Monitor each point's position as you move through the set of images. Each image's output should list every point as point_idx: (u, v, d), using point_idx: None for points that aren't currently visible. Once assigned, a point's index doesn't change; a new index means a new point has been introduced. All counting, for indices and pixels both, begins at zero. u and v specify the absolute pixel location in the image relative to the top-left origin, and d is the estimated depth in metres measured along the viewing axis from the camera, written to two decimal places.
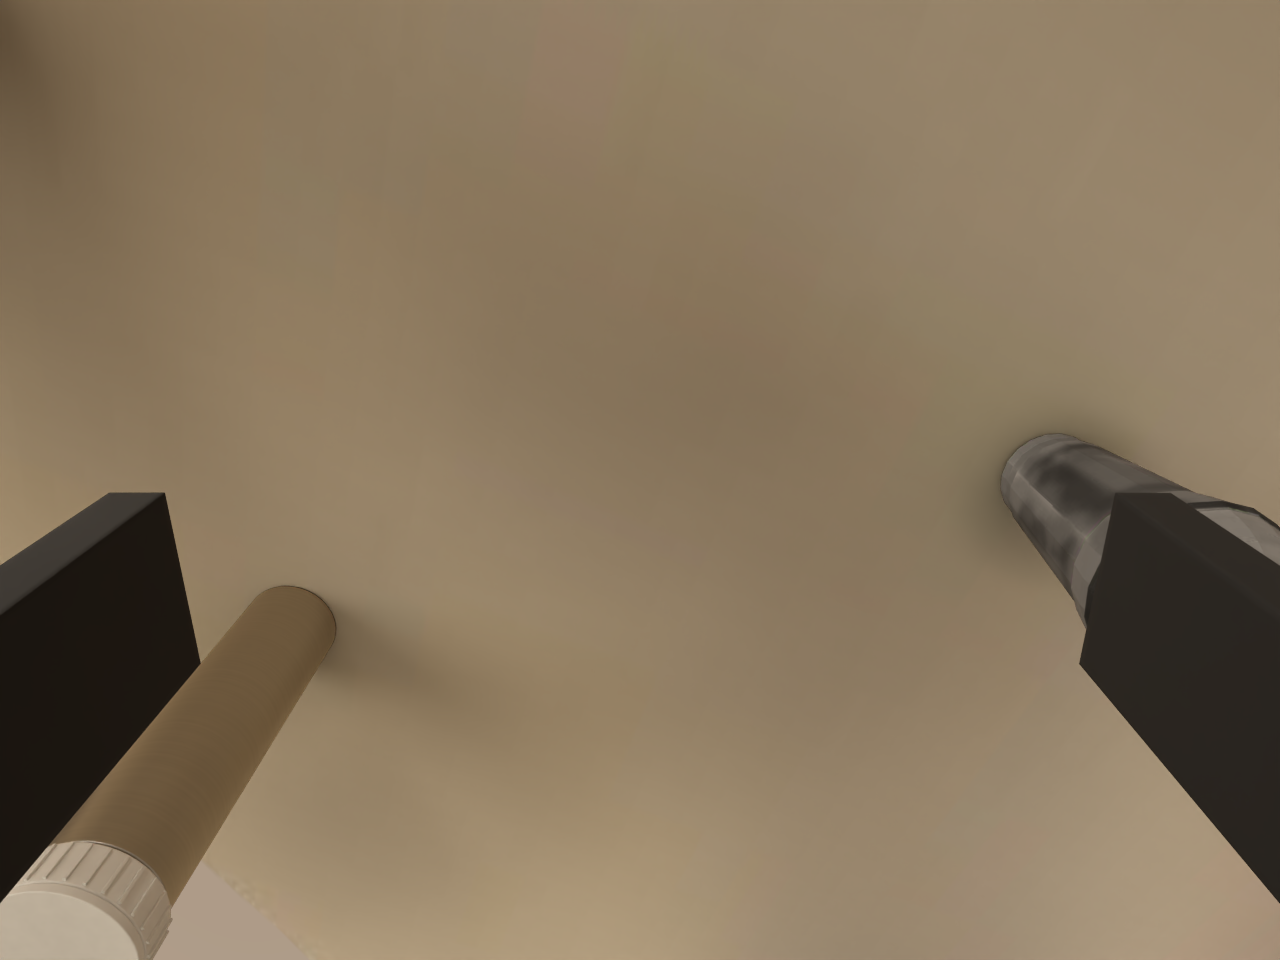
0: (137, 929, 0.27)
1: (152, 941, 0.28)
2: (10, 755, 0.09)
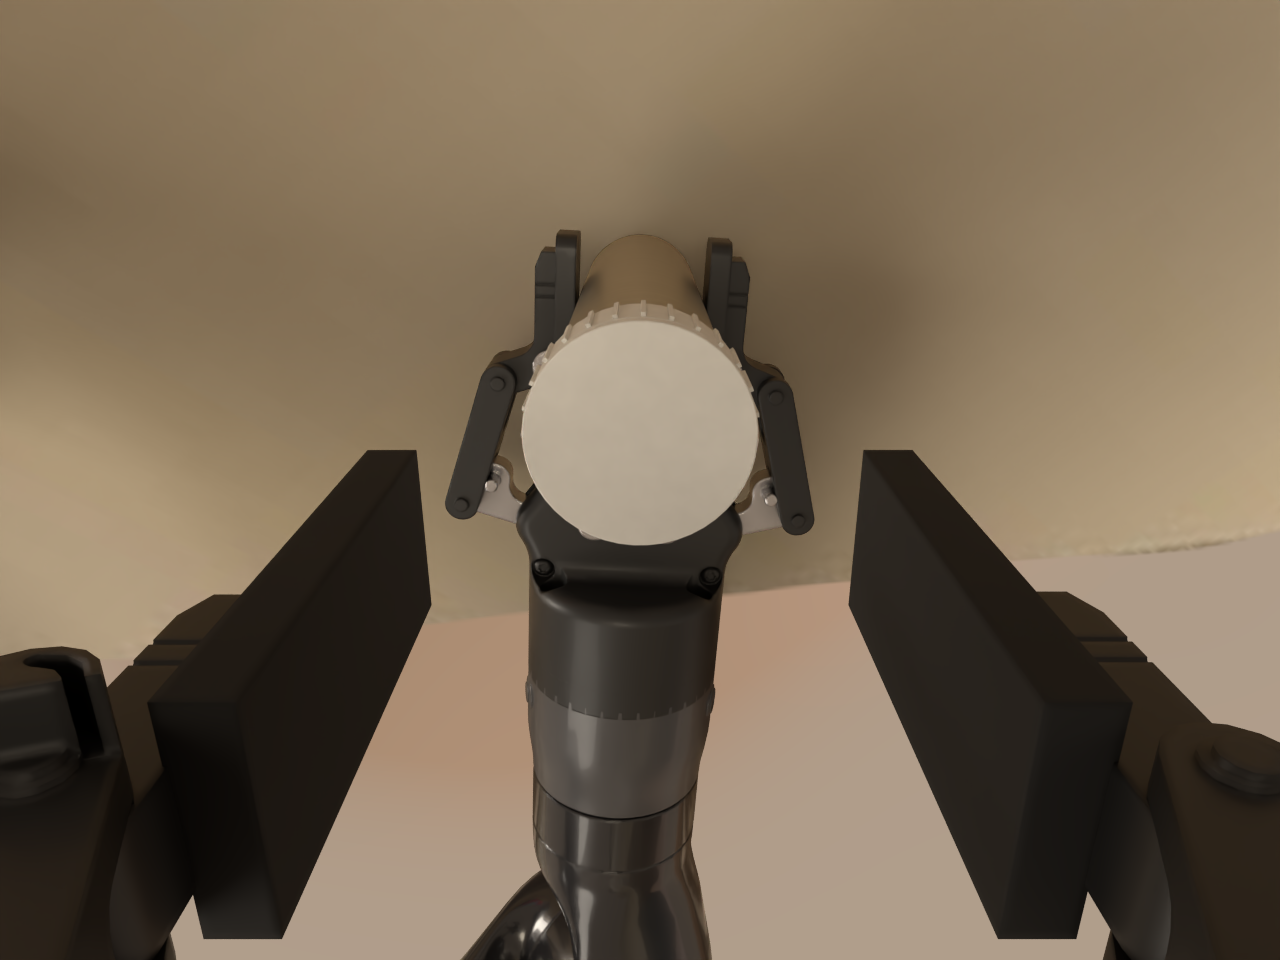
0: (667, 322, 0.18)
1: (708, 334, 0.18)
2: (354, 660, 0.11)
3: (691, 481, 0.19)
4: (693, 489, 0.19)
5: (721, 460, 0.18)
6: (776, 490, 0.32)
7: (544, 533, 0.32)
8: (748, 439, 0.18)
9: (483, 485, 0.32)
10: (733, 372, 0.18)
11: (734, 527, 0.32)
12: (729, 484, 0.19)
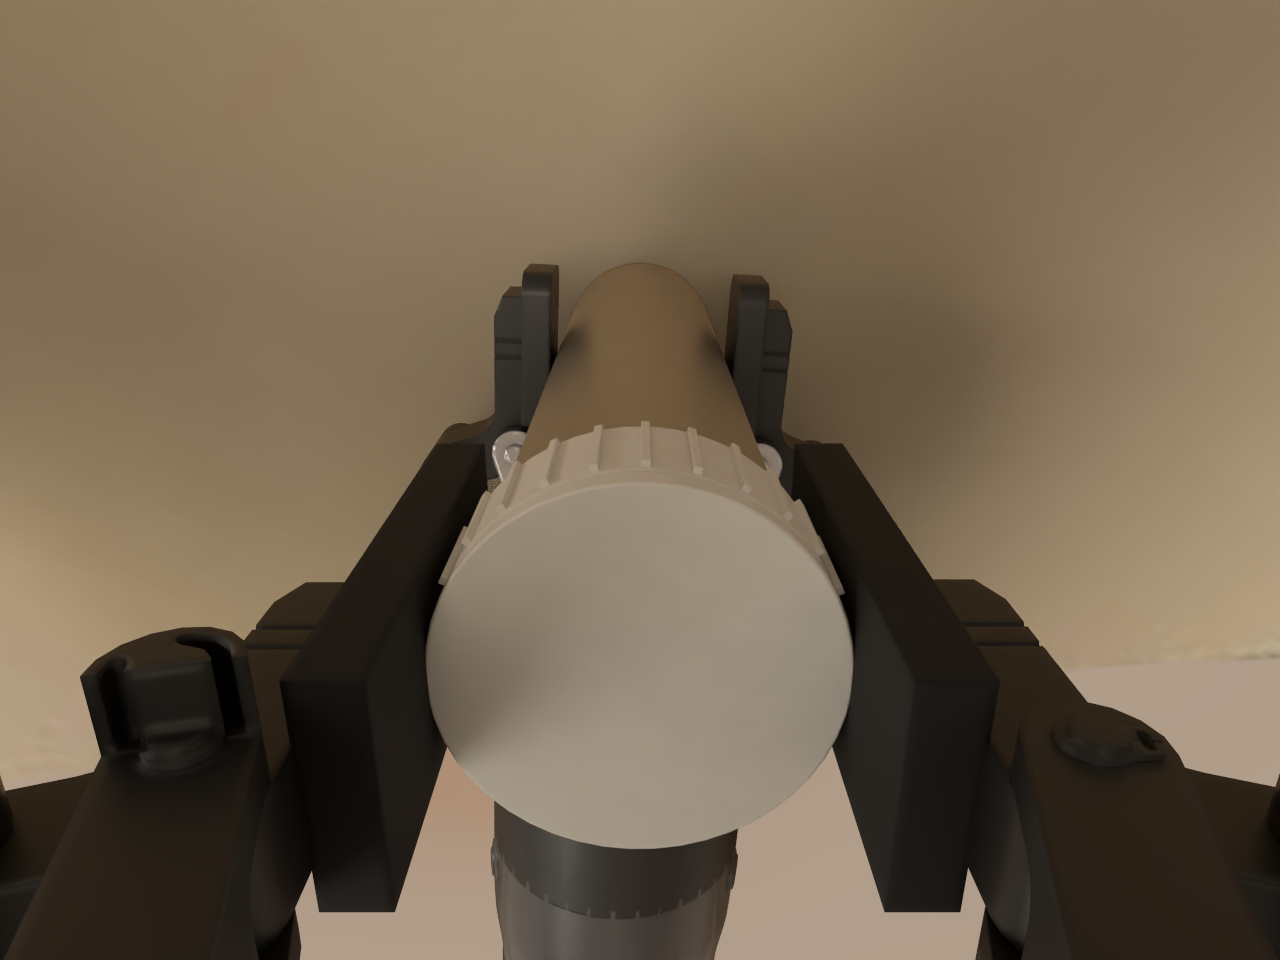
0: (689, 478, 0.10)
1: (762, 493, 0.10)
2: None
3: (731, 750, 0.10)
4: (734, 763, 0.11)
5: (785, 717, 0.10)
6: None
7: None
8: (835, 683, 0.10)
9: None
10: (812, 572, 0.10)
11: None
12: (799, 755, 0.10)
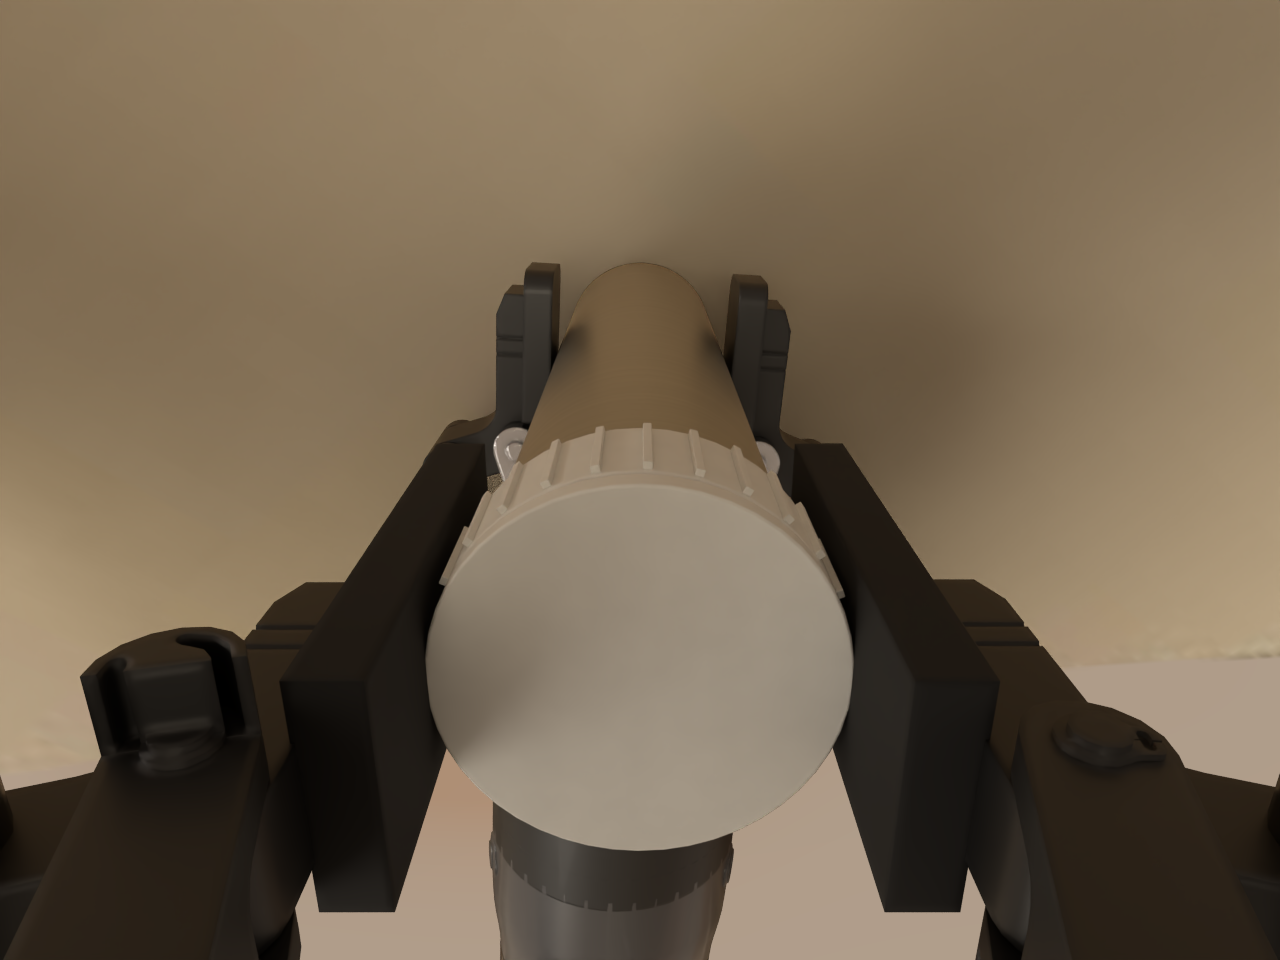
0: None
1: (462, 551, 0.10)
2: None
3: (721, 596, 0.10)
4: (738, 591, 0.10)
5: (676, 547, 0.09)
6: None
7: None
8: (630, 502, 0.09)
9: None
10: (499, 540, 0.09)
11: None
12: (725, 530, 0.09)
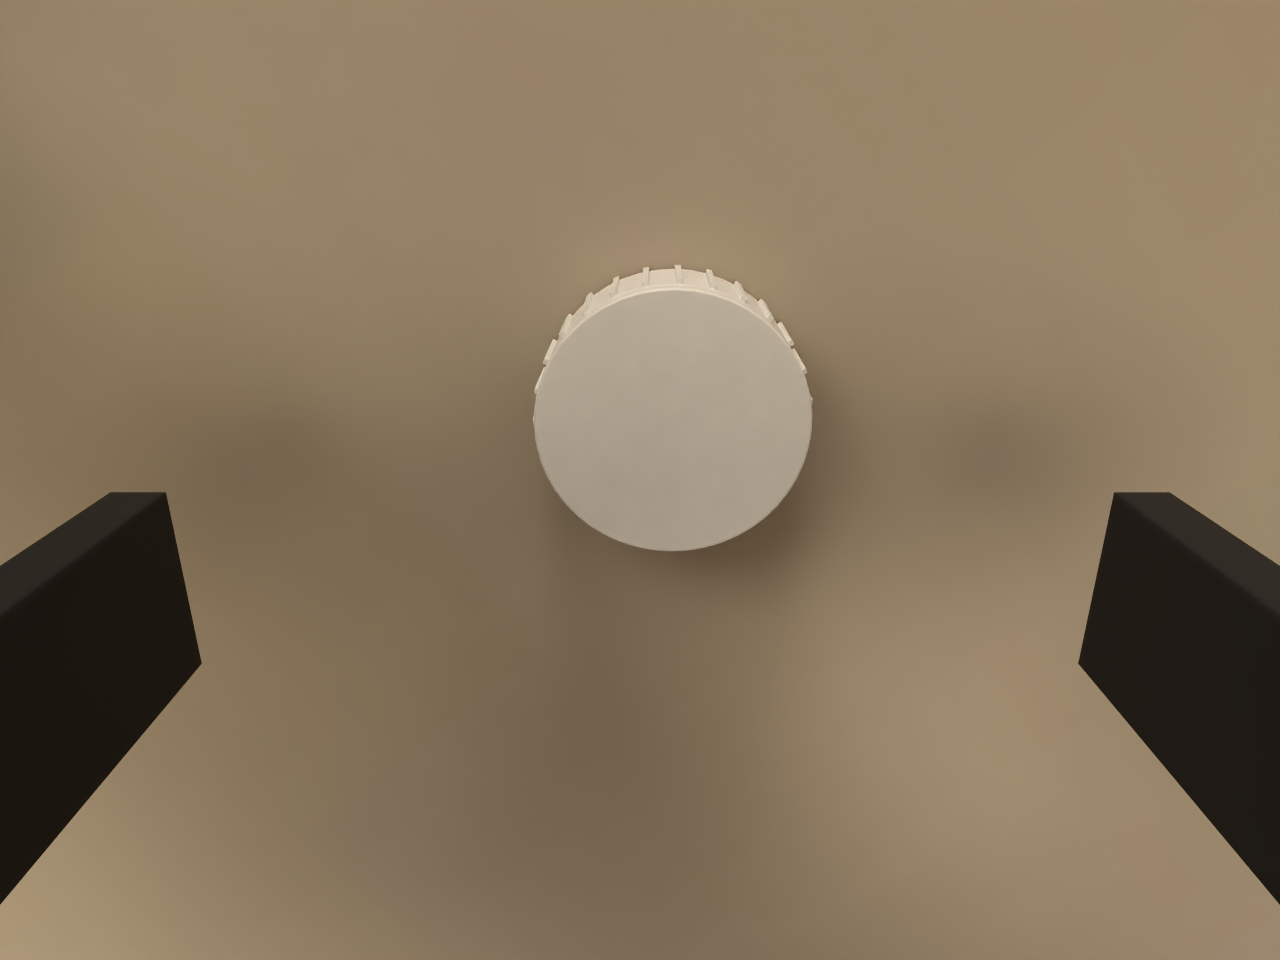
0: None
1: (556, 344, 0.16)
2: (11, 755, 0.09)
3: (725, 366, 0.15)
4: (736, 362, 0.15)
5: (697, 331, 0.15)
6: None
7: None
8: (668, 300, 0.15)
9: None
10: (585, 326, 0.15)
11: None
12: (728, 319, 0.15)
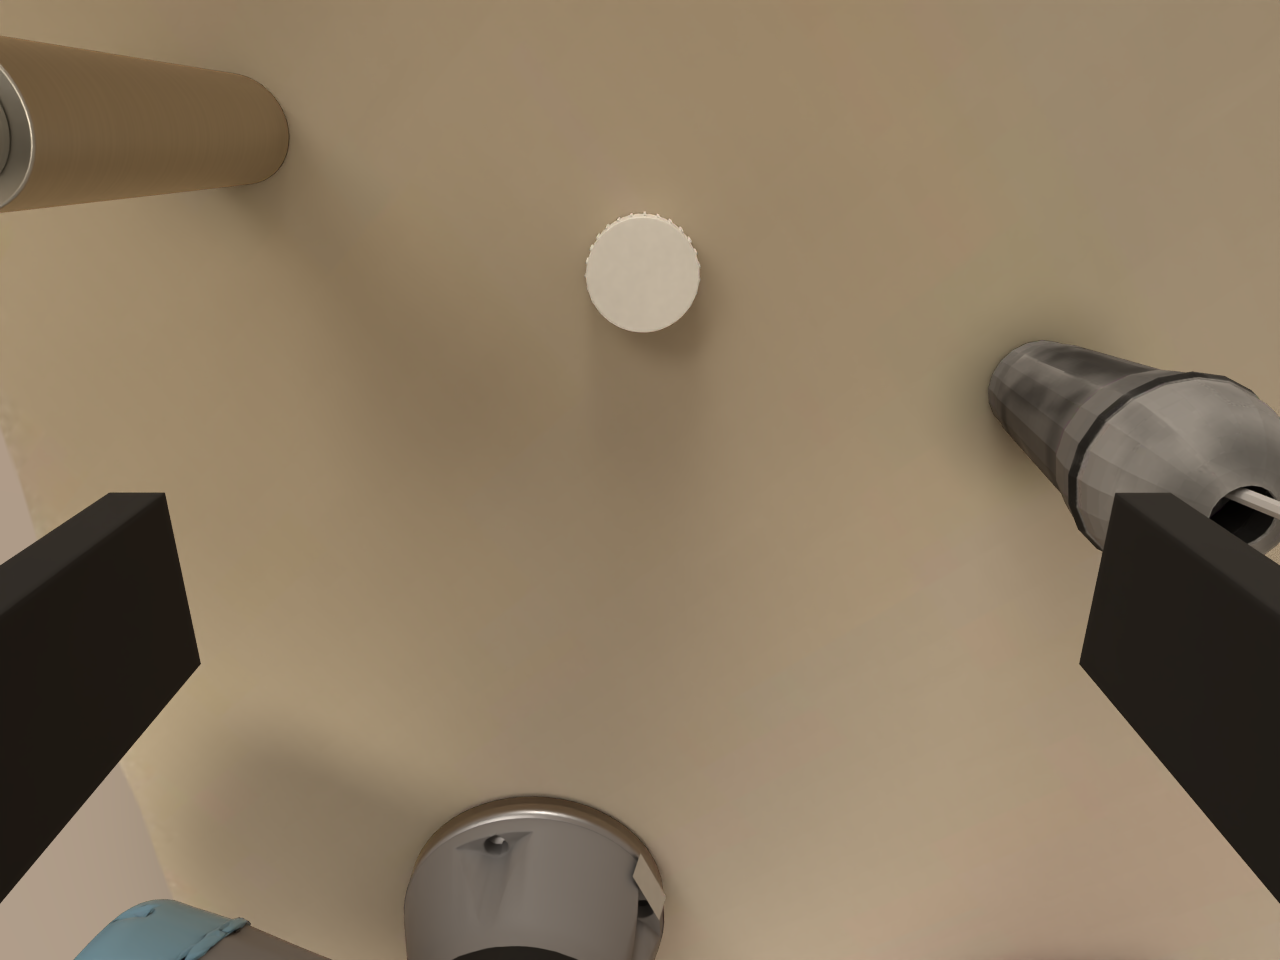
0: (588, 265, 0.38)
1: None
2: (10, 756, 0.09)
3: (663, 249, 0.38)
4: (668, 248, 0.38)
5: (652, 235, 0.38)
6: None
7: None
8: (640, 222, 0.37)
9: None
10: (607, 233, 0.38)
11: None
12: (664, 229, 0.37)
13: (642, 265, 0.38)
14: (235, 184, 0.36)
